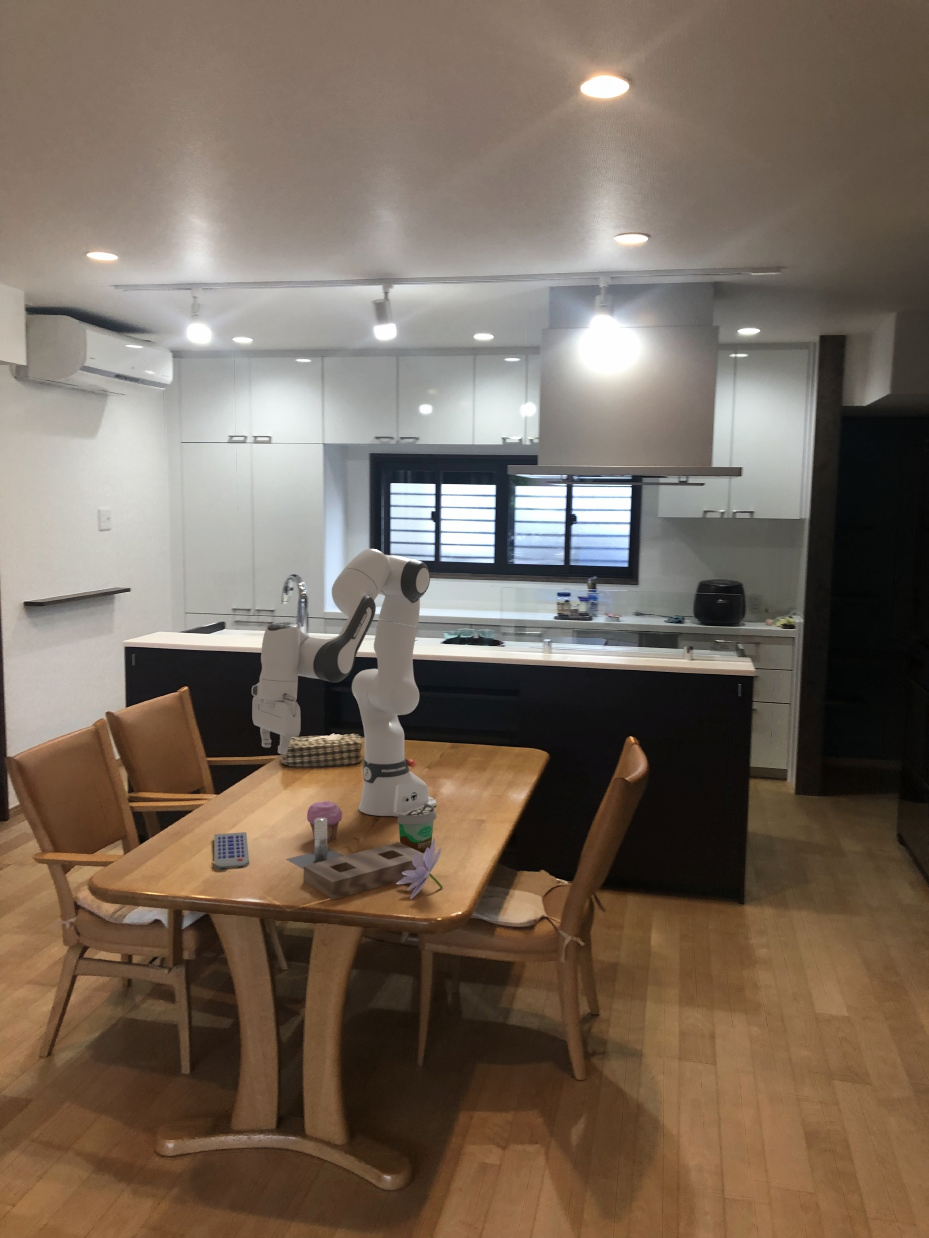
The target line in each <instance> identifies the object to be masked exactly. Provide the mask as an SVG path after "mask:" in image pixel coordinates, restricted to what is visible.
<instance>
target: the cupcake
mask: <svg viewBox="0 0 929 1238" xmlns="http://www.w3.org/2000/svg"><path fill="white" fill-rule="evenodd" d="M306 813H307V814H306V820H307V822H308V823H309V824H310V827H311V830H312V836H313V840H315V837H314V820H315V819H316V818H326V819H327V843H329V842H331V841H333V840H334V839H336V838H337V836H338V831H339V829H338V828H339V823H340V822H341V821H342V818H343V811H342V809H341V808H340V807H339V806H338V805H337V804H336V803H335V802H334V801H329V800H324V801H318V802H317V801H316V802H314V803H312V804H311V805H310V806H309V808H308V809H307V812H306Z"/></svg>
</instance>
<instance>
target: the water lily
mask: <svg viewBox="0 0 929 1238" xmlns="http://www.w3.org/2000/svg"><path fill="white" fill-rule="evenodd" d="M441 851H442V847H440V848H439V849H438V851H437V852H436V838H435V837H434V838H433V839H432V844H431V847H430V849H429V848H428V847H427V849H426V851H425V853H423V854H424V857H423V858H422V856H421V855H419V854H415V855H414V856H413V857H412V863H413V865H414V866H415V867H416V868H417V869H416V868H415V869H416V870H407V871H404V872H402V874H404V875H407V877H403V879H401V880H400V881H398V882H395V885H405V884H411V885H409V886H408V887H407V889H406V891H407V892H408V891H411V890H412V889H413V891H412V892H411V894H410V898H409V899H410V900H413V899H414V898H416V896H417V895H418V894H419V892H421V891H422V890H421V889H422V888H423V887H424V886H425V884H426V882H427V881H428V878H429V877H430V878H431V879H432V880H433V881H434V882H435V884H436V885H438V887H439V888H440V890H441V889H443V888H444V886H443V884H441V883H440V881H439V880H438V879H437V878H436V877H435V876H434V875H433V874H431V872H432V870H433V869H434V868H435V866H436V864H437V862H438V861H439V858H440V855H441Z"/></svg>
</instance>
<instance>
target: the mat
mask: <svg viewBox="0 0 929 1238" xmlns="http://www.w3.org/2000/svg"><path fill="white" fill-rule="evenodd" d="M341 856H344V855H343V854H341V853H339V852H337V851H335V850H334V849H331V848H327V860H330V859H334V858H337V857H341ZM286 861H289V862H290V863H292V864H294V865H295V866H298V867H299V868H301V869H303V870H304V866H306V865H310V864H314V863H317V862H315V851H313V852H309V853H306V854H305V853H304V854H300V855H297V856H292V857H289V858H286Z"/></svg>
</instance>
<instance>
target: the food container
mask: <svg viewBox="0 0 929 1238" xmlns="http://www.w3.org/2000/svg"><path fill="white" fill-rule="evenodd" d="M437 817H438V816H437V813H436V809H435V806H432V805H430V804H426V803H425V804H424V807H423V808H421V809H418V810H413V811H411V812H410V813H408V814H407V815H398V817H397V821H396V822H397V824H398V830H399V832H398V833H399V843H401V844H403V845H406V846H408V847H410V848H412V849H415V850H417V851H419V852H421V853H423V854H424V853H425V851H426V849H427V847H428V848H429V849H430V847H431V844H432V841H433V831H434V821H435V820H436V819H437Z"/></svg>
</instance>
